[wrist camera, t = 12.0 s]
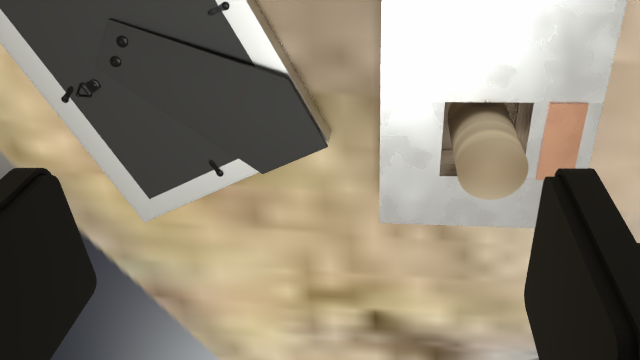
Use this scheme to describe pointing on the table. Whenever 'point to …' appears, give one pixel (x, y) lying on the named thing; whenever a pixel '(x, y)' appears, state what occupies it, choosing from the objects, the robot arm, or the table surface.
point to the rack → (488, 97)
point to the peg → (486, 149)
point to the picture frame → (166, 91)
